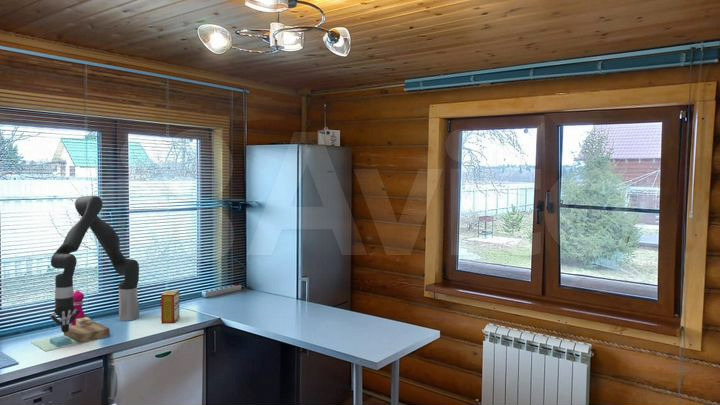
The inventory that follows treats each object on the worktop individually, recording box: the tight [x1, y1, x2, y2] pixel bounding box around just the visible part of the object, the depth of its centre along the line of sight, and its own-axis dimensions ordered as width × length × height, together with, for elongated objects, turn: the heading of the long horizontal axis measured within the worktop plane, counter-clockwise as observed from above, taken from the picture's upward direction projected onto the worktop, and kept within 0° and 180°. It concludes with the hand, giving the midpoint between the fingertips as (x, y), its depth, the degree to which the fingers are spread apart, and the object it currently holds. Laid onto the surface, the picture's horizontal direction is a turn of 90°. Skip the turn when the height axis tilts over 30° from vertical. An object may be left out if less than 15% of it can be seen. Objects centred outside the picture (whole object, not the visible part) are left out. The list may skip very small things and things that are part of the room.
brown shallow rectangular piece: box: [63, 320, 111, 344], centre depth 241 cm, size 14×18×4 cm
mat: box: [31, 334, 80, 352], centre depth 230 cm, size 14×18×1 cm
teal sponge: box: [49, 334, 72, 347], centre depth 230 cm, size 6×9×2 cm, turn 51°
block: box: [76, 316, 92, 327], centre depth 246 cm, size 5×5×3 cm
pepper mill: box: [70, 288, 87, 326], centre depth 254 cm, size 7×7×20 cm
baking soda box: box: [160, 290, 181, 325], centre depth 267 cm, size 10×6×16 cm
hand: (65, 332), depth 231 cm, fingers closed
